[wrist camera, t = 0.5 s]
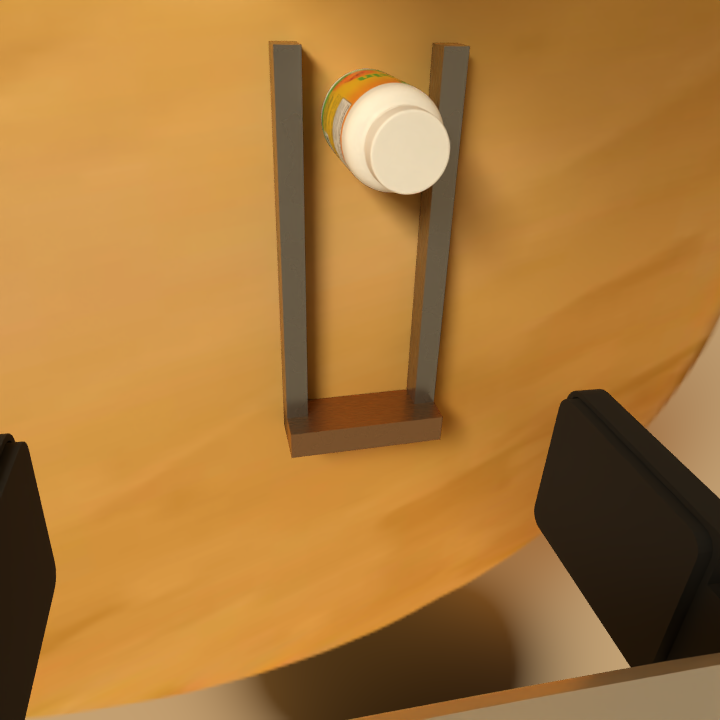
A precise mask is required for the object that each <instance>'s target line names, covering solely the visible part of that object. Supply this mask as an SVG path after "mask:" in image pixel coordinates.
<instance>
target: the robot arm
mask: <svg viewBox="0 0 720 720" xmlns="http://www.w3.org/2000/svg"><path fill="white" fill-rule="evenodd" d="M534 514H535V520H536V523H537V525H538V527H539V528H540V530H541V532H542V533H543V535H544V536H545V537H546V539H547V541H548V542H549V544H550V545H551V547H552V548H553V550H554V551H555V553H556V554H557V556H558V557H559V559H560V560H561V562H562V563H563V565H564V567H565V568H566V569H567V571H568V573H569V574H570V576H571V577H572V578H573V580H574V582H575V583H576V585H577V586H578V588H579V589H580V591H581V592H582V594H583V595H584V597H585V598H586V600H587V601H588V603H589V605H590V606H591V607H592V609H593V611H594V612H595V614H596V615H597V617H598V618H599V620H600V621H601V623H602V624H603V626H604V627H605V629H606V630H607V632H608V633H609V635H610V636H611V638H612V639H613V641H614V642H615V644H616V645H617V647H618V649H619V650H620V652H621V653H622V655H623V656H624V658H625V659H626V661H627V662H628V664H629V665H630V667H631V668H626V669H620V670H615V671H610V672H605V673H599V674H593V675H587V676H582V677H576V678H571V679H565V680H560V681H554V682H548V683H543V684H538V685H533V686H527V687H522V688H516V689H511V690H505V691H500V692H494V693H489V694H483V695H479V696H473V697H467V698H462V699H457V700H451V701H446V702H440V703H435V704H430V705H425V706H419V707H414V708H409V709H403V710H398V711H393V712H387V713H382V714H377V715H371V716H366V717H361V718H355V719H350V720H720V499H719V498H718V497H717V496H716V495H715V494H714V493H713V492H712V491H711V490H710V489H709V488H708V487H707V486H706V485H705V484H703V483H702V482H701V481H700V480H699V479H698V478H697V477H696V476H695V475H694V474H693V473H692V472H691V471H690V470H689V469H688V468H687V467H685V466H684V465H683V464H682V463H681V462H680V461H679V460H678V459H677V458H676V457H675V456H674V455H673V454H672V453H671V452H670V451H669V450H668V449H666V447H664V446H663V445H662V444H661V443H660V442H659V441H658V440H657V439H656V438H655V437H654V436H653V435H652V434H651V433H649V431H648V430H647V429H645V428H644V427H643V426H642V425H641V424H640V423H639V422H638V421H637V420H636V419H635V418H634V417H633V416H632V415H631V414H630V413H629V412H628V411H626V410H625V409H624V408H623V407H622V406H621V405H620V404H619V403H618V402H617V401H616V400H615V399H614V398H613V397H612V396H611V395H610V394H609V393H608V392H606V391H605V390H602V389H595V390H582V391H573V392H571V393H570V394H569V396H568V398H567V399H565V400H563V401H562V402H561V404H560V407H559V410H558V414H557V418H556V423H555V427H554V431H553V435H552V439H551V443H550V447H549V451H548V455H547V459H546V463H545V467H544V471H543V475H542V479H541V483H540V487H539V491H538V495H537V499H536V503H535V509H534ZM55 582H56V567H55V561H54V557H53V553H52V548H51V544H50V540H49V535H48V531H47V527H46V522H45V518H44V514H43V509H42V505H41V501H40V496H39V492H38V488H37V483H36V479H35V475H34V470H33V466H32V462H31V457H30V453H29V449H28V446H27V444H26V442H15V440H14V438H13V436H12V435H11V434H0V720H25V716H26V712H27V707H28V703H29V699H30V694H31V690H32V685H33V681H34V677H35V672H36V668H37V664H38V659H39V655H40V650H41V646H42V642H43V637H44V633H45V628H46V624H47V620H48V615H49V611H50V607H51V602H52V598H53V593H54V589H55Z"/></svg>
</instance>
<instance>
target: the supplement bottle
mask: <svg viewBox="0 0 720 720" xmlns="http://www.w3.org/2000/svg"><path fill="white" fill-rule="evenodd" d="M321 124H322V130H323V133H324V136H325V138H326V141H327V142H328V144H329V146H330V147H331V149H332V150H333V151H334V153H335V154H336V155H337V156H338V157H339V158H340V159H341V161H342V162H343V163H344V164H345V165H346V166H347V168H348V169H349V170H350V171H351V172H352V174H353V175H354V176H355V177H356V178H357V179H358V180H360V181H361V182H362V183H363V184H365V185H366V186H368V187H370V188H372V189H375V190H377V191H381V192H395V193H398V194H405V195H409V194H416V193H419V192H422V191H424V190H426V189H428V188H429V187H431V186H432V185H433V184H434V183H435V182H436V181H437V180H438V179H439V178H440V177H441V175H442V174H443V172H444V170H445V168H446V166H447V163H448V160H449V155H450V141H449V137H448V133H447V131H446V129H445V127H444V125H443V120H442V117H441V115H440V112H439V110H438V108H437V107H436V105H435V104H434V102H433V101H432V100H431V99H430V98H429V97H428V96H427V95H426V94H425V93H423V92H422V91H420V90H419V89H417V88H415V87H413V86H411V85H409V84H407V83H405V82H403V81H401V80H398V79H397V78H395V77H392V76H390V75H389V74H387V73H384V72H382V71H379V70H375V69H358V70H354V71H351V72H349V73H347V74H345V75H344V76H342V77H341V78H339V79H338V80H337V81H336V82H335V83H334V84H333V86H332V87H331V88H330V90H329V91H328V93H327V95H326V97H325V100H324V103H323V106H322V112H321Z"/></svg>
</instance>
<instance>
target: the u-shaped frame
mask: <svg viewBox="0 0 720 720" xmlns="http://www.w3.org/2000/svg"><path fill="white" fill-rule="evenodd" d="M469 49H470V46H466V45H462V44H458V43H433V47H432V60H431V73H430V87H429V98H430V99H431V100H432V101H433V102H434V104H435V105H436V107H437V108H438V110H439V112H440V115H441V117H442V120H443V125H444V127H445V129H446V131H447V133H448V137H449V141H450V155H449V160H448V163H447V166H446V168H445V170H444V172H443V174H442V175H441V177H440V178H439V179H438V180H437V181H436V182H435V183H434V184H433V185H432V186H431V187H429V188H428V189H426V190H424V191H422V193H421V206H420V219H419V233H418V246H417V259H416V272H415V286H414V299H413V312H412V326H411V339H410V352H409V365H408V379H407V390H397V391H388V392H379V393H369V394H360V395H351V396H342V397H332V398H323V399H314V400H308V392H307V335H306V278H305V222H304V165H303V108H302V52H301V44H299V43H298V42H295V41H269V59H270V83H271V108H272V133H273V157H274V182H275V206H276V231H277V256H278V280H279V305H280V330H281V354H282V379H283V403H284V425H285V430H286V434H287V439H288V443H289V448H290V452H291V457H292V458H295V457H302V456H310V455H318V454H326V453H334V452H342V451H350V450H358V449H366V448H374V447H382V446H390V445H398V444H406V443H414V442H422V441H430V440H438V439H440V435H441V427H442V418H443V417H442V415H441V414H440V412H439V410H438V408H437V407H436V405H435V403H434V393H435V383H436V373H437V363H438V354H439V344H440V334H441V324H442V314H443V304H444V295H445V285H446V275H447V265H448V255H449V245H450V236H451V226H452V216H453V206H454V196H455V186H456V177H457V167H458V157H459V147H460V137H461V127H462V118H463V108H464V98H465V88H466V78H467V68H468V59H469Z"/></svg>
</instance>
